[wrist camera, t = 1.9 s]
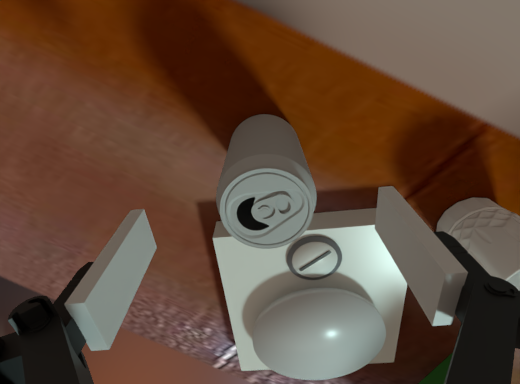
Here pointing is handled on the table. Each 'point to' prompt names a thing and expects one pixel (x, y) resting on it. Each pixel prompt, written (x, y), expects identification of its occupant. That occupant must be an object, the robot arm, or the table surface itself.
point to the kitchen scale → (314, 298)
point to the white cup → (486, 235)
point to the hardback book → (438, 373)
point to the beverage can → (265, 184)
